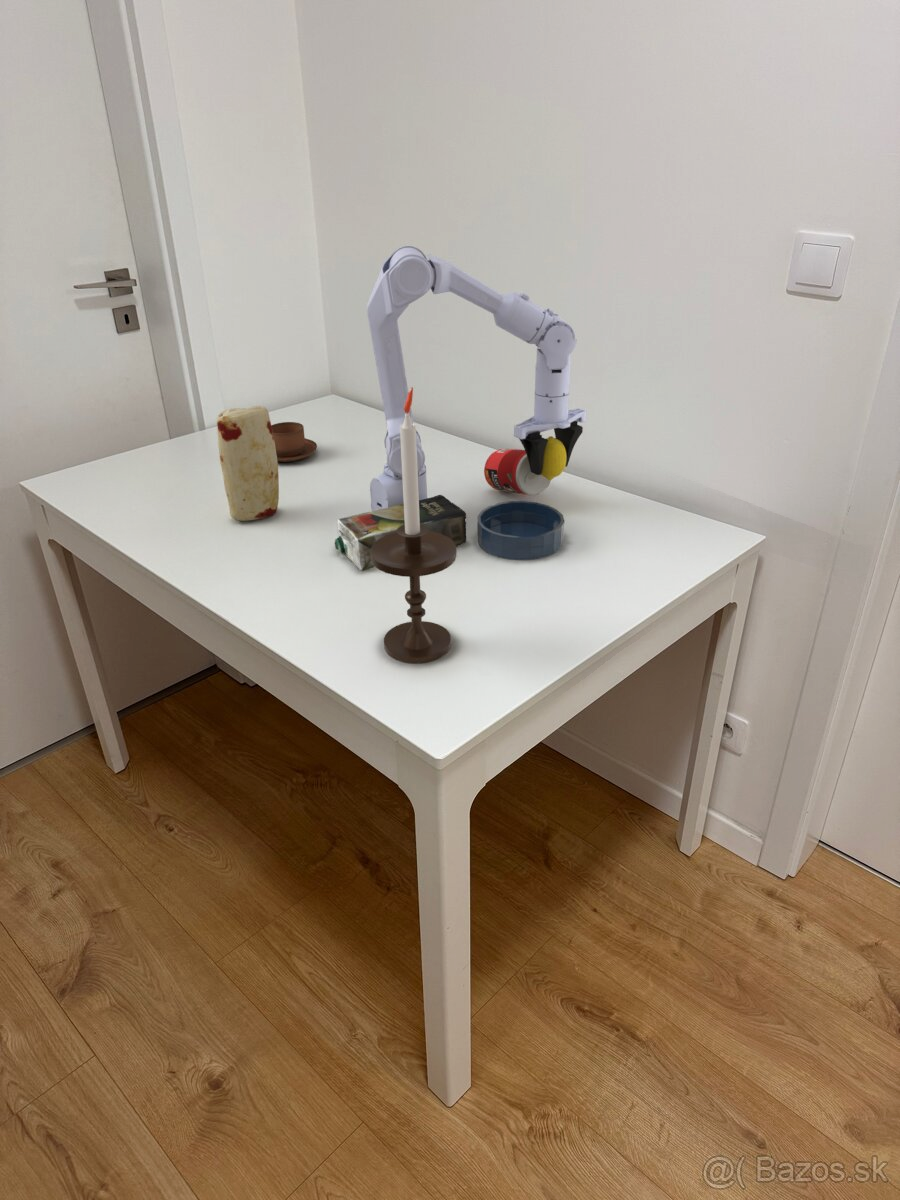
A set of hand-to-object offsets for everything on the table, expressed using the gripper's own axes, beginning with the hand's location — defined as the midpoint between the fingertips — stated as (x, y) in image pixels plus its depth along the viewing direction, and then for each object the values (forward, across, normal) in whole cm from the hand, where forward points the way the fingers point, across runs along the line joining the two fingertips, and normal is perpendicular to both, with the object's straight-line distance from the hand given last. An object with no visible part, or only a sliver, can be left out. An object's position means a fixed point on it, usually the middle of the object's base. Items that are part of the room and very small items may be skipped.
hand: (549, 469), depth 147 cm
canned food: (+4, -1, +13) cm, 14 cm away
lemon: (+2, 0, 0) cm, 2 cm away
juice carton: (+8, -29, +3) cm, 30 cm away
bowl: (+8, -12, -7) cm, 16 cm away
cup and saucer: (+8, -25, +53) cm, 59 cm away
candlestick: (+8, -43, -23) cm, 49 cm away
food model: (+8, -43, +29) cm, 53 cm away
